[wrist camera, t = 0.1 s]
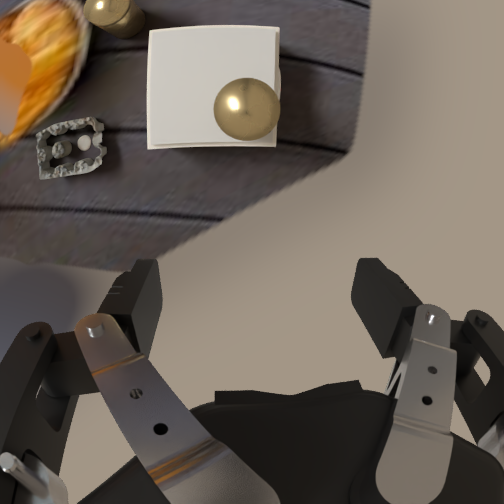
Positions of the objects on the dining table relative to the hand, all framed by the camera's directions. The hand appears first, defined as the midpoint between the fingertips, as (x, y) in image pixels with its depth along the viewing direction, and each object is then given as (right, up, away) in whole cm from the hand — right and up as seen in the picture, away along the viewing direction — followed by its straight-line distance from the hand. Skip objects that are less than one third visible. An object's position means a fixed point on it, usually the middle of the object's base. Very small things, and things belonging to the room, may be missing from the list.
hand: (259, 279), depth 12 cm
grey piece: (-25, +16, +23) cm, 38 cm away
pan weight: (-1, +16, +17) cm, 23 cm away
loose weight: (-17, +31, +16) cm, 39 cm away
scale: (-5, +21, +22) cm, 31 cm away
